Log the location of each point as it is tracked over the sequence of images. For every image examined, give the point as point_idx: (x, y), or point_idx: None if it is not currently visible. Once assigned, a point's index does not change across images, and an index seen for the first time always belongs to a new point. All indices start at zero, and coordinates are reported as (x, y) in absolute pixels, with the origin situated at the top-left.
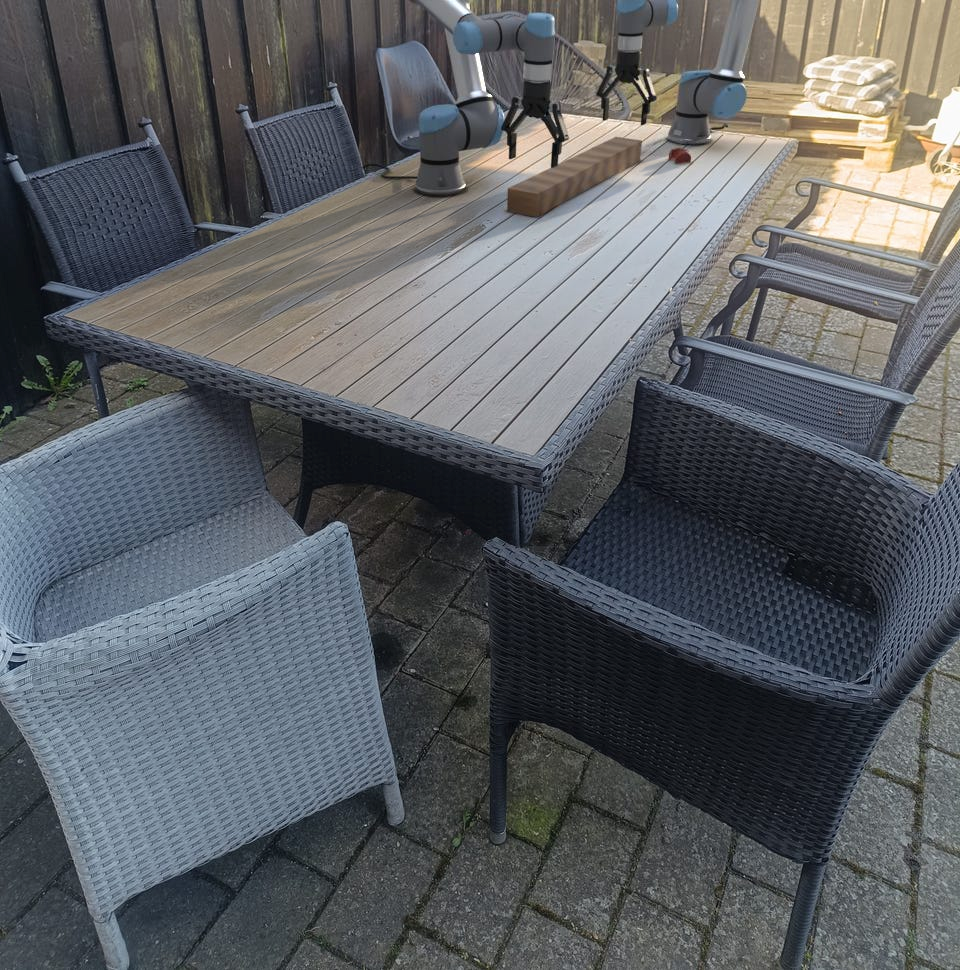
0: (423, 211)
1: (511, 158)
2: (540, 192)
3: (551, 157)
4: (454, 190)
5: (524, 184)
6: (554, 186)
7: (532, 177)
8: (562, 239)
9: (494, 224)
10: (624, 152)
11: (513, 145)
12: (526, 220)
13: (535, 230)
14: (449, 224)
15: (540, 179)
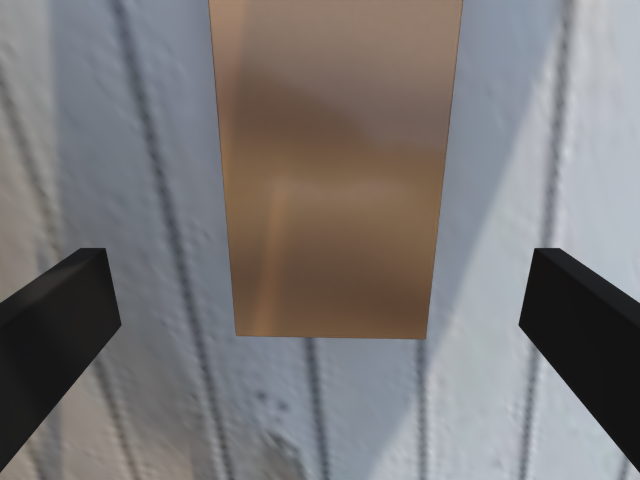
0: None
1: (116, 320)
2: (428, 310)
3: (567, 383)
4: None
5: (274, 233)
6: (445, 142)
7: (227, 58)
8: (586, 425)
9: (303, 415)
10: None
11: (43, 370)
12: None
13: (463, 398)
14: (178, 475)
15: (301, 73)
